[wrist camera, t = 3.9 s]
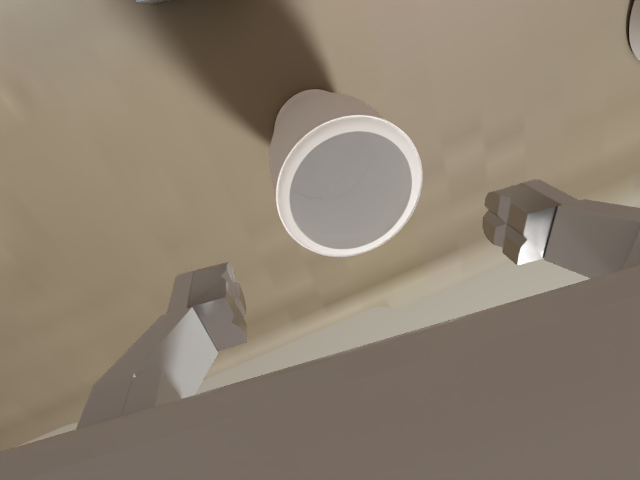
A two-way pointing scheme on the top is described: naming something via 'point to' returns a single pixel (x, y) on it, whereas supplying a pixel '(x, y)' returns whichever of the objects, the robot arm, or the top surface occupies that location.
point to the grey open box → (150, 1)
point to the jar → (341, 173)
